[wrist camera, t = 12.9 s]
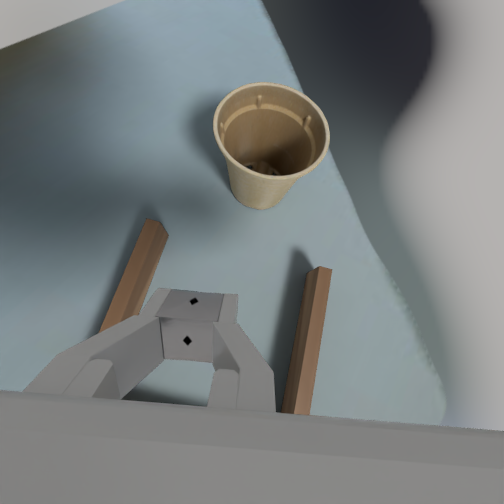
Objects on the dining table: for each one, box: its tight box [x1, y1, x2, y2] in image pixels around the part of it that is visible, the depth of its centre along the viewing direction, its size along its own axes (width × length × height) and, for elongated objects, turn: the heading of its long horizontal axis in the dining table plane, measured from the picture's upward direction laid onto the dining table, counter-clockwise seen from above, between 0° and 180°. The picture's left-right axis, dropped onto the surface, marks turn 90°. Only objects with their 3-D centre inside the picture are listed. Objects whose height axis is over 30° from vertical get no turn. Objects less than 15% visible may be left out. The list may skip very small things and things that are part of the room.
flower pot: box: [213, 82, 330, 210], centre depth 23 cm, size 9×9×9 cm
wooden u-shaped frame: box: [99, 219, 332, 415], centre depth 21 cm, size 17×17×4 cm
